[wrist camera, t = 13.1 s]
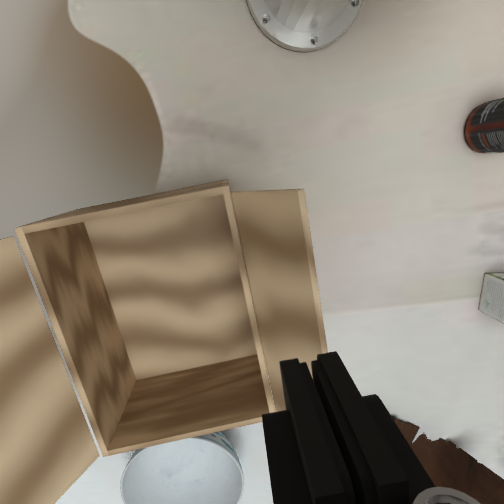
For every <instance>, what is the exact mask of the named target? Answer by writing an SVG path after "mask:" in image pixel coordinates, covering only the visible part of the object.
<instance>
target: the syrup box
mask: <svg viewBox="0 0 504 504" xmlns="http://www.w3.org/2000/svg"><path fill="white" fill-rule="evenodd" d="M479 310H480V311H481V312H483V313H485V314H487V315H489V316H491V317H492V318H494V319H496V320H498V321H499V322H501V323H503V324H504V273H486V274H485V277H484V281H483V286H482V292H481V298H480V304H479Z"/></svg>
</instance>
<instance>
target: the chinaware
mask: <svg viewBox="0 0 504 504" xmlns="http://www.w3.org/2000/svg"><path fill="white" fill-rule="evenodd" d="M120 489H121V496H122V500H123V503H124V504H238V503H239V502H240V499H241V497H242V494H243V489H244V477H243V472H242V468H241V465H240V462H239V459H238V457H237V454H236V452H235V450H234V448H233V447H232V445H231V443H230V442H229V441H228V439H227V438H226V437H225V436H224V435H223V434H222V433H221V432H220V431H218V432H214V433H209V434H205V435H200V436H196V437H191V438H187V439H182V440H178V441H173V442H169V443H164V444H159V445H155V446H150V447H146V448H141V449H137V450H136V451H135V453H134V454H133V456H132V457H131V459H130V460H129V462H128V464H127V466H126V468H125V470H124V472H123V475H122V479H121V486H120Z"/></svg>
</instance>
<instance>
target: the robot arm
mask: <svg viewBox="0 0 504 504" xmlns="http://www.w3.org/2000/svg"><path fill="white" fill-rule="evenodd" d="M362 2H363V0H247V3H248V6H249V9H250V12H251V14H252V16H253V18H254V20H255V22H256V24H257V25H258V27H259V28H260V29H261V30H262V32H263V33H264V34H265V35H266V36H267V37H268V38H269V39H271V40H272V41H273V42H274V43H276V44H278V45H280V46H281V47H283V48H286V49H289V50H293V51H300V52H308V51H315V50H318V49H321V48H324V47H326V46H328V45H330V44H331V43H333V42H335V41H336V40H337V39H338V38H339V37H340V36H341V35H343V34H344V33H345V31H346V30H347V29H348V28H349V27H350V26H351V24H352V23H353V21H354V19H355V18H356V16H357V15H358V12H359V10H360V8H361V5H362ZM351 4H353V5H354V7H353V6H352V5H351ZM263 20H266V21H267V23H263ZM311 40H312V41H314V44H312V43H311V42H310V41H311ZM279 364H280V371H281V378H282V385H283V392H284V399H285V406H286V410H284V411H278V412H272V413H267V414H262V421H263V429H264V436H265V444H266V451H267V458H268V466H269V473H270V481H271V488H272V495H273V503H274V504H480V503H479V502H478V501H477V500H475V499H474V498H472V497H470V496H469V495H467V494H465V493H463V492H460V491H458V490H455V489H452V488H446V487H435V485H434V483H433V482H432V480H431V479H430V477H429V475H428V474H427V472H426V471H425V469H424V468H423V466H422V464H421V463H420V461H419V460H418V458H417V456H416V455H415V453H414V452H413V450H412V448H411V447H410V445H409V444H408V442H407V441H406V439H405V437H404V436H403V434H402V433H401V431H400V429H399V428H398V426H397V425H396V423H395V422H394V420H393V418H392V417H391V415H390V414H389V412H388V410H387V409H386V407H385V406H384V404H383V402H382V401H381V399H380V398H379V397H378V396H377V395H376V394H374V395H368V396H363V397H362V396H361V394H360V392H359V391H358V389H357V387H356V385H355V384H354V382H353V380H352V378H351V376H350V375H349V373H348V371H347V369H346V367H345V366H344V364H343V362H342V360H341V359H340V357H339V355H338V353H337V352H336V351H335V352H329V353H323V354H318V355H317V360H314V361H311V368H312V376H311V373H310V371H309V368H308V366H307V363H306V362H302V363H299V360H298V358H295V359H289V360H283V361H279ZM312 377H313V379H312Z"/></svg>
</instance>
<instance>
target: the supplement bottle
mask: <svg viewBox="0 0 504 504" xmlns="http://www.w3.org/2000/svg"><path fill="white" fill-rule="evenodd" d="M465 136H466V140H467V142H468V144H469V145H470V147H471V148H472V149H474V150H475V151H477V152H480V153H502V152H504V98H502V99H498V100H493V101H490V102H486V103H484V104H482V105H480V106H479V107H477V108H476V109H475V110H474V111H473V112H472V114H471V115H470V116H469V118H468V121H467V123H466V129H465Z"/></svg>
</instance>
